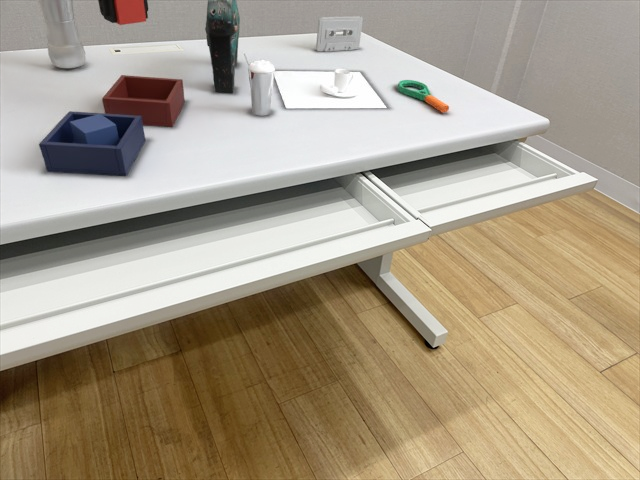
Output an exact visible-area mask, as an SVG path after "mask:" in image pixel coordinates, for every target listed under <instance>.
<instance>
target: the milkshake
mask: <svg viewBox="0 0 640 480" xmlns="http://www.w3.org/2000/svg"><path fill="white" fill-rule="evenodd" d="M243 56H244V59H245V61H246V64H247V71H248V79H249V89H250V100H251V112H252V113H251V114H253V115H254V116H259V117H265V116H268V115H270V113H271V106H272V94H273V86H274V79H275V77H274V71H276V68H275V66H274V65H273V64H272V62H271V61H269V60H265V59H263V58H262V59H260V60H254V61H251V62H250V63H249V60H248V58H247V56H246V53H243Z"/></svg>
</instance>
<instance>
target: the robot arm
mask: <svg viewBox="0 0 640 480" xmlns="http://www.w3.org/2000/svg"><path fill="white" fill-rule="evenodd" d="M97 2H98V7H99V11H100V14H101V16H102V17H103V19H104V20H106V21H107V22H110V23H112V24H117V23H116V22H117V17H116V11H115V6H114V0H97ZM144 7H145V15H146V20H147V19H148V18H149V15H148V12H149V3H148V0H144Z"/></svg>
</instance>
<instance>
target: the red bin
mask: <svg viewBox="0 0 640 480" xmlns="http://www.w3.org/2000/svg"><path fill="white" fill-rule="evenodd" d="M101 102H102V106H103V111H104V114H119V115H135V116H142V121H143V126H151V127H164V128H165V127H166V128H173V127H174V125H175V123H176V120H177V119H178V117H179V115H180V113H181V110H182V109H183V107H184V104H185V103H186V102H185V90H184V81H183V79H182V78H181V79H180V78H168V77H153V76H139V75H127V74H121V75H120V76H119V78H118V79H116V81H115V82H114V83H113V84H112V85H111V87H110V88H109V89H108V91H107V92H106V93H105V94H104V95H103V96H102V97H101Z"/></svg>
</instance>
